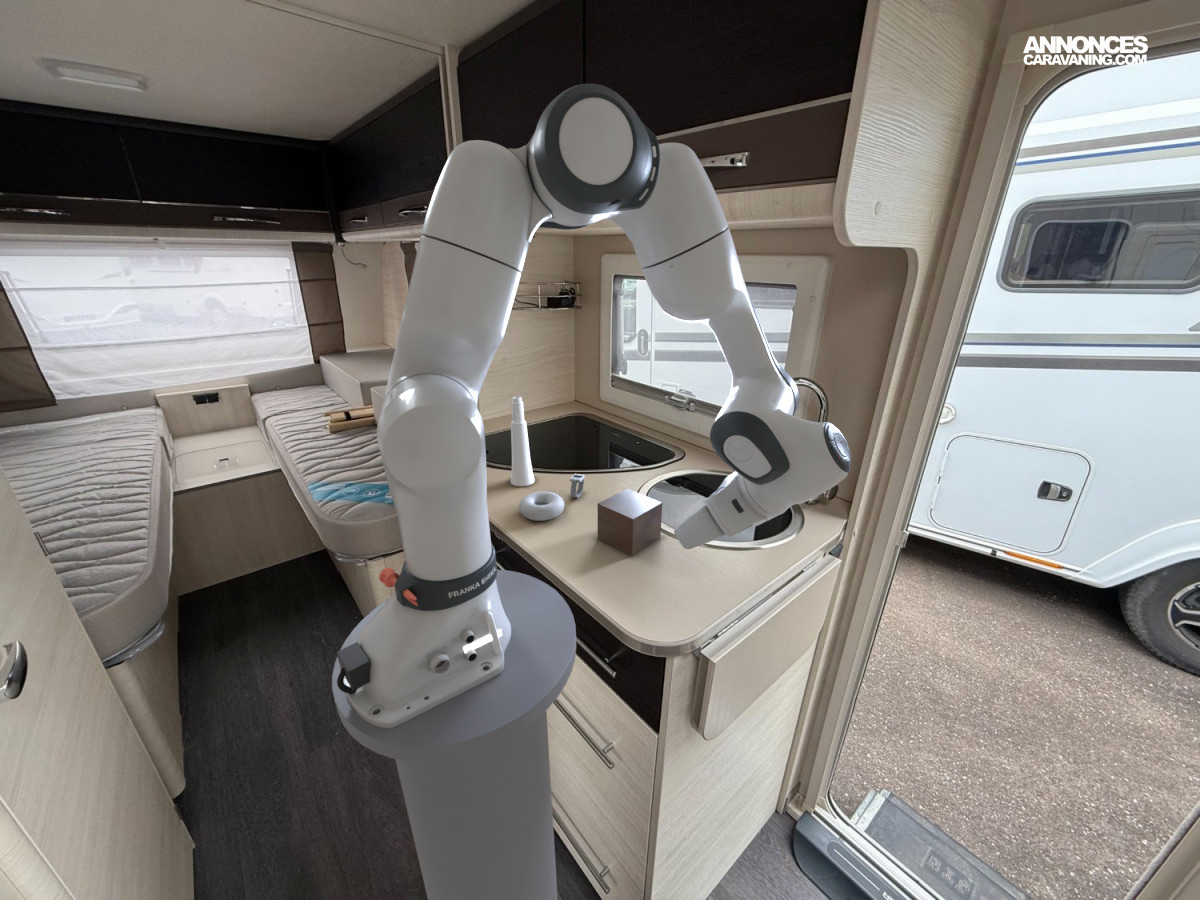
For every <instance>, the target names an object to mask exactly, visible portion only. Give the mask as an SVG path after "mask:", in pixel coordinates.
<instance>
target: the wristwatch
mask: <svg viewBox="0 0 1200 900" xmlns="http://www.w3.org/2000/svg"><path fill="white" fill-rule="evenodd" d="M570 477H571V478H570V479H569V483H570V482H571V484H570V496H571V497H572V498H576V499H579V498H580V497H581V496H582V494H583V491H584V487H585V477H586V475H585V474H580V473H574V474H572V476H570Z"/></svg>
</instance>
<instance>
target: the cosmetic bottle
mask: <svg viewBox="0 0 1200 900" xmlns="http://www.w3.org/2000/svg"><path fill="white" fill-rule="evenodd" d="M511 398H512V399H511V400H512V401H511V403H510V404H511V416H512V420H511V421H510V437H511V438H510V440H511V441H510V442H511V443H510V445H511V474H510V484H511V485H512V486H515V487H527V486H531V485H532V484H534V483H535V476H534V472H533V466H532V460H531V451H530V445H529V444H530V443H529V436H528V435H529V434H528V427H527V421H526V420H525V412H524V411H525V410H524V402H523V400H522V396H513V397H511Z"/></svg>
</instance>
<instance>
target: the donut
mask: <svg viewBox="0 0 1200 900" xmlns="http://www.w3.org/2000/svg"><path fill="white" fill-rule="evenodd" d="M518 508H519V512H520V514H521V515H522V516H523V517H524V518H526V519H528V520H531V521H535V522H544V521H549V520H553V519H555V518H557V517H558V516H560V515H561V514H562V513H563V512H564V509H565V501H564V499H563V497H562V496H560V495H559V494H558V493H555V492H552V491H536V492H532V493H528V494H527V495H525V496H524V497H523V498H522V499H521V500H520V502H519V506H518Z"/></svg>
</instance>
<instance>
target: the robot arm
mask: <svg viewBox="0 0 1200 900" xmlns="http://www.w3.org/2000/svg"><path fill="white" fill-rule="evenodd" d="M653 144H654V145H653ZM604 219H605V220H606V219H607V220H609V221H612V222H613V223H615V224H616V225H617V226H618V227H619V228H620V229H621V230H622V231H623V232H624V234H625V235H626V237H627V238H628V240H629V242H631V244H632V247H633V250H634V254H635V256H636V259H637V261H638V263H639V266H640V269H641V271H642V274H643V276H644V279H645V281H646V284H647V286H648V289H649V290H650V291H649V292H650V293H651V295H652V297H653V298H654V300H655V301H656V303H657V304H658V305H659V308H661V310H662V311H663V313H664V314H666V315H668V316H669V317H671V318H673V319H675V320H679V321H682V322H687V323H701V324H704V325H706V326H707V327H709V329H710V330H711V331H712V332H713V334H714V336H715V339H716V341H717V343H718V346H719V347H720V350H721V352H722V354H723V357H724V358H725V361H726V363H727V365H728V368H729V370H730V373H731V388H730V391H729V395H728V397H727V399H726V401H725V403H724V405H723V406H722V407H721V409H720V411H719V412H718V414H717V416H716V418H715V420H714V422H713V424H711V425H712V426H711V428H710V432H709V439H710V441H709V442H710V444H711V448H712V449H713V452H714V453H715V454H716V456H717V457H719V459H720V460H721V461H723V462H724V463H725V465H727V466H729V467H730V469H732V470H733V472H732V473H730V474H729V475H728V476H726V477H725V478H724V479H723V481H722V483H721V484H720V485H719V487H718V488H717V489H716V490H715V491H714V492H713V493H711V494H710V495H708V497H707V498H706V499H704V504H703V505H702V506H701V507H699V508H698V509H697V510H696V511H694V512H693V513H692V514H691V515H689V516H688V517H687V518H685V519H684V520H683V521H681V523H679V524H678V525H677V526H676V527H675V528H674V531H673V534H674V535H675V537H676V540H678V542H679V543H680V545H681V546H682V547H683V549H685V550H691V549H695V548H697V547H700V546H703V545H705V544H708V543H710V542H713V541H715V540H717V539H720V538H722V537H723V536H726V538H732V537H734V536H736V535H737V534H740V533H742V532H743V531H745V530H747V529H750V528H754V527H758V526H760V525H762V524H765V523H766V522H768V521H770V520H772V519H774V518H776V517H778V516H780V515H783V514H784V513H786V511H788V509H790V508H791V507H792V506H794V505H799V504H804V503H807V502H809V501H811V500H813V499H815V498H816V497H819V496H820V495H822V494H824V493H826V492H828V491H829V490H831V489H832V488H834V487H836V486H837V485H838V484H840V483H841V482H842V481H843V480H845V479H846V477H848V475H849V473H850V471H851V463H852V455H851V454H852V453H851V451H850V447H849V444H848V442H847V440H846V438H845V436H844V435H843V433H842V432H841V431H840V429H838V428H837V427H836V426H835V425H834V424H833V423H831V422H829V421H824V422H823V421H822V422H817V421H812V420H807V419H803V418H801V417H797V416H795V414H796V412H797V410H798V408H799V405H800V391H799V388H798V386H797V383H796V382H795V380H794V379H793V378H792V377H791V375H790V374H789V373H788V372H787V371H786V370H785V369H784V367H783V366H781V364H780V363H779V362H778V360H777V359H776V358H775V355H774V354H773V351H772V349H771V346H770V343H769V342H768V339H767V336H766V334H765V332H764V329H763V327H762V323H761V321H760V318H759V316H758V314H757V311H756V308H755V306H754V302H753V301H752V298H751V297H750V294H749V292H748V288H747V285H746V282H745V279H744V276H743V272H742V268H741V264H740V261H739V257H738V254H737V250H736V246H735V243H734V239H733V236H732V234H731V229H730V228H729V224H728V221H727V218H726V216H725V212H724V210H723V206H722V204H721V203H720V199H719V197H718V194H717V193H716V190H715V188H714V186H713V184H712V181H711V180H710V178H709V175H708V174H707V172H706V170H705V168H704V166H703V164H702V163H701V161H700V159H699V157H698V156H697V154H696V153H695V151H694V150H693V149H692V148H691V147H689V146H688V145H686V144H684V143H680V142H662V143H659V140H658V137H657V136H656V134H655V133H654V131H652V130H651V129H650V128H649V127H648V126H647V125H646V124H644V123H643V121H642V120H641V118H640V117H639V115H638V113H637V112H636V111H635V109H634V108H633V107H632V105H630V103H629V102H627V100H626V99H625V98H624V97H623V96H621V95H620V94H619V93H617V91H615V90H614V89H612V88H610V87H608V86H605V85H602V84H598V83H580V84H577V85H573V86H571V87H569V88H567V89H565V90H564V91H562V92H561V93H559V94H558V95H557V96H556V97H555V98H554V99H552V100H551V102H549V103H548V105H546V107H545V109H544V110H543V112H542V114H541V115H540V117H539V119H538V122H537V125H536V128H535V131H534V133H533V135H532V136H531V137H530V139H529V140H528V143H527V144H525V145H523V146H521V147H519V148H511V147H509V148H507V147H505V146H503V145H501V144H498V143H497V142H492V141H490V140H482V139H474V140H472V139H471V140H466V141H462V142H461V143H459V144H457V146H455V147H454V148H453V149H452V150H451V152H450V153H449V155H448V158H447V160H446V162H445V163H444V166H443V167H442V170H441V173H440V175H439V177H438V180H437V182H436V184H435V187H434V190H433V193H432V195H431V198H430V201H429V204H428V208H427V210H426V214H425V218H424V222H423V224H422V229H421V234H420V235H421V236H420V237H419V242H418V246H417V250H416V255H415V259H414V264H413V269H412V272H411V277H410V282H409V285H408V291H407V295H406V299H405V304H404V307H403V312H402V317H401V321H400V325H399V330H398V335H397V339H396V343H395V348H394V353H393V356H392V361H391V365H390V370H389V374H388V379H387V382H386V388H385V391H384V396H383V400H382V404H381V409H380V413H379V417H378V422H377V426H376V440H377V444H378V450H379V453H380V457H381V462H382V468H383V470H384V475H385V478H386V482H387V487H388V489H389V492H390V497H391V499H392V502H393V505H394V508H395V511H396V512H395V513H396V517H397V521H398V527H399V533H400V538H401V545H402V549H403V555H404V562H403V564H402V568H401V572H400V574H399V573H397V572H396V570H394V569H393V568H392V567H385V568H384V569H382V570H381V571H380V573H379V574H378V576H379V577H378V580H379V581H380V582H381V583H382V584H383V585H384V586H385V587H386V588H394V593H393V594H392V595H391V596H390V597H389V598H390V599H389V598H388V599H389V600H388V599H387V600H388V601H387V602H386V604H385V605H384V606H383V607H382V608H381V609H380V610H379V611H378V613H377V614H376V615H375V616H374V617H373V618H372V619H371V620H370V621H369V622H368V623H367V624H366V626H365V627H364V628H363V629H362V631H361V633H360V636H359V640H358V643H357V642H356V643H354V644H352V645H350V646H348V647H346V648H344V649H342V650H340V649H339V650H338V651H336V658H337V657H338V661H339V664H340V668H341V671H340V674H339V676H338V679H337V686H338V687H339V689H340V690H341V691H343V692H345V695H346V697H347V699H348V701H349V703H350V704H351V706H352V707H353V708H354V710H355V711H356V712H357V713H358V714H359V715H360V717H362V718H363V719H364V720H365V721H367V722H368V723H370V724H372V725H375V726H377V727H381V728H386V729H390V728H393V727H396V726H398V725H400V724H402V723H404V722H406V721H408V720H410V719H412V718H414V717H416V716H418V715H420V714H422V713H424V712H426V711H428V710H430V709H432V708H434V707H436V706H438V705H440V704H441V703H443V702H445V701H447V700H449V699H451V698H453V697H455V696H457V695H459V694H461V693H463V692H465V691H467V690H469V689H471V688H473V687H475V686H477V685H479V684H481V683H483V682H485V681H487V680H489V679H491V678H493V677H495V676H497V675H498V674H500V673H501V672H502V671H503V669H504V663H505V662H504V653H505V650H506V648H507V646H508V643H509V641H510V638H511V625H510V622H509V620H508V618H507V616H506V614H505V612H504V609H503V606H502V603H501V600H500V596H499V592H498V588H497V583H496V576H497V569H498V563H497V557H496V556H497V555H496V549H495V546H494V545H493V543H492V540H491V529H490V520H489V519H490V518H489V509H488V497H487V496H488V494H487V493H488V492H487V491H488V490H487V489H488V485H487V484H488V478H487V477H488V475H487V451H486V450H487V449H486V435H485V433H486V432H485V424H484V421H483V418H482V415H481V413H480V410H479V407H478V403H479V402H478V401H479V396H480V393H481V389H482V387H483V384H484V382H485V379H486V377H487V374H488V371H489V369H490V367H491V364H492V362H493V360H494V357H495V355H496V353H497V351H498V349H499V347H500V346H501V344H502V343H503V340H504V337H505V333H506V330H507V327H508V324H509V323H508V322H509V319H510V316H511V312H512V309H513V305H514V302H515V298H516V294H517V292H518V288H519V284H520V281H521V276H522V273H523V270H524V265H525V261H526V258H527V256H528V255H527V254H528V250H529V247H530V245H531V243H532V239H533V237H534V235H535V233H536V231H537V230H538V228H543V229H556V230H568V231H569V230H577V229H582V228H585V227H587V226H589V225H592V224H595V223H598V222H599V221H601V220H602V221H603V220H604ZM485 670H487V671H485ZM377 713H379V714H377ZM375 714H377V715H375Z"/></svg>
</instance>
